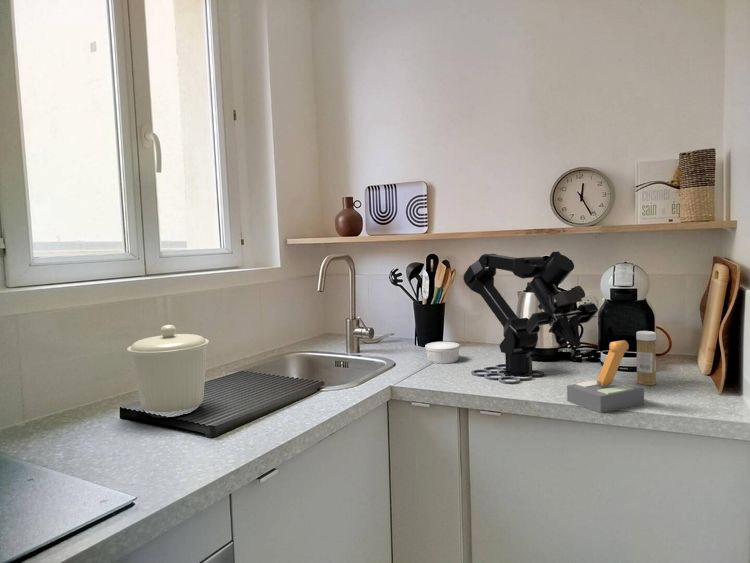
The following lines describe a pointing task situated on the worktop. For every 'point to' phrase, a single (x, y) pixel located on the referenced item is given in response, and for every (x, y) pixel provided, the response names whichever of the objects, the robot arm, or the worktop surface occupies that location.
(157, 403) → the canister
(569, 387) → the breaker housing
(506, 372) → the robot arm
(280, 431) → the worktop surface
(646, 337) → the sprinkles bottle
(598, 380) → the lever
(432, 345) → the ramekin
